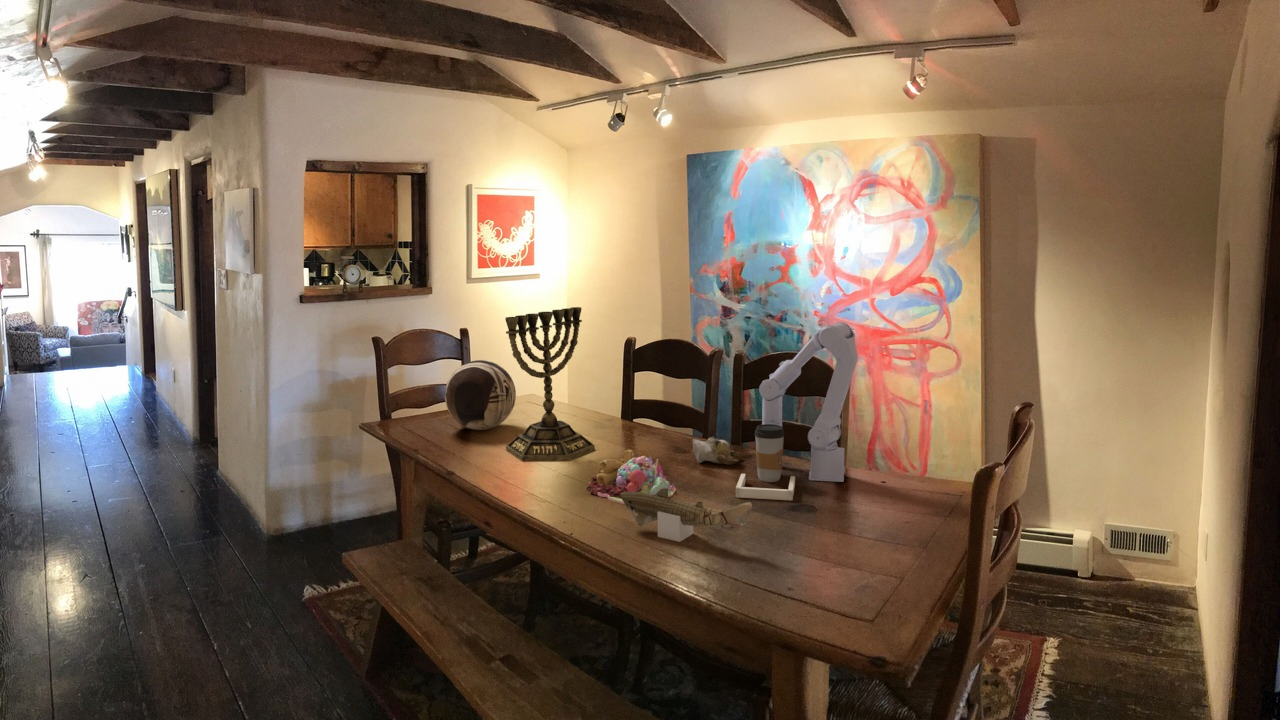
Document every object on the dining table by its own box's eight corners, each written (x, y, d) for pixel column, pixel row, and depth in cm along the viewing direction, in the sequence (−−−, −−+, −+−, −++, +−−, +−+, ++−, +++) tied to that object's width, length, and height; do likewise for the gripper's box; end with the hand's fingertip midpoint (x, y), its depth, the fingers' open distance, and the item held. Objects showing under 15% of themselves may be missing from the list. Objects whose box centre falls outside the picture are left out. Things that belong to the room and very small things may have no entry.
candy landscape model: (571, 491, 227) (570, 458, 226) (628, 471, 245) (628, 441, 243) (639, 510, 211) (639, 475, 209) (696, 488, 228) (695, 455, 227)
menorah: (546, 469, 247) (540, 319, 240) (483, 458, 260) (476, 316, 253) (613, 442, 277) (610, 308, 270) (553, 433, 290) (549, 305, 283)
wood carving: (742, 559, 178) (742, 509, 176) (611, 528, 198) (610, 483, 196) (760, 546, 185) (760, 498, 183) (632, 517, 205) (631, 473, 203)
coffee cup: (777, 485, 228) (777, 432, 226) (749, 480, 233) (749, 428, 230) (788, 477, 235) (789, 425, 233) (761, 472, 240) (761, 422, 237)
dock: (794, 485, 228) (795, 476, 228) (792, 500, 215) (792, 491, 215) (741, 482, 231) (741, 473, 231) (735, 497, 219) (735, 488, 218)
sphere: (435, 436, 288) (431, 366, 284) (462, 420, 313) (458, 355, 309) (504, 438, 284) (501, 366, 280) (525, 421, 309) (523, 355, 305)
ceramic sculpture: (695, 429, 256) (743, 433, 254) (693, 456, 258) (741, 460, 255) (690, 438, 246) (740, 443, 243) (688, 466, 248) (739, 471, 245)
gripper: (760, 413, 249) (760, 457, 251) (756, 424, 235) (755, 470, 237) (784, 414, 247) (783, 458, 249) (781, 425, 233) (780, 471, 236)
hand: (771, 464), depth 243 cm, fingers open, 7 cm apart
